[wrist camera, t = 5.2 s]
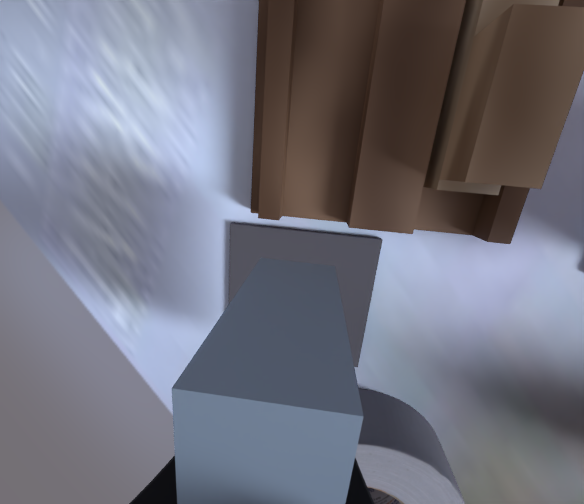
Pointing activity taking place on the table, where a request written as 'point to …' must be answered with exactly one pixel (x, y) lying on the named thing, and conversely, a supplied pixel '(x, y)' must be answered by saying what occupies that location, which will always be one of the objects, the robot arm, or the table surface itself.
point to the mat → (317, 250)
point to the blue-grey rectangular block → (271, 395)
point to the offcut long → (476, 16)
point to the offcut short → (516, 96)
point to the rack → (362, 117)
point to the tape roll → (402, 455)
